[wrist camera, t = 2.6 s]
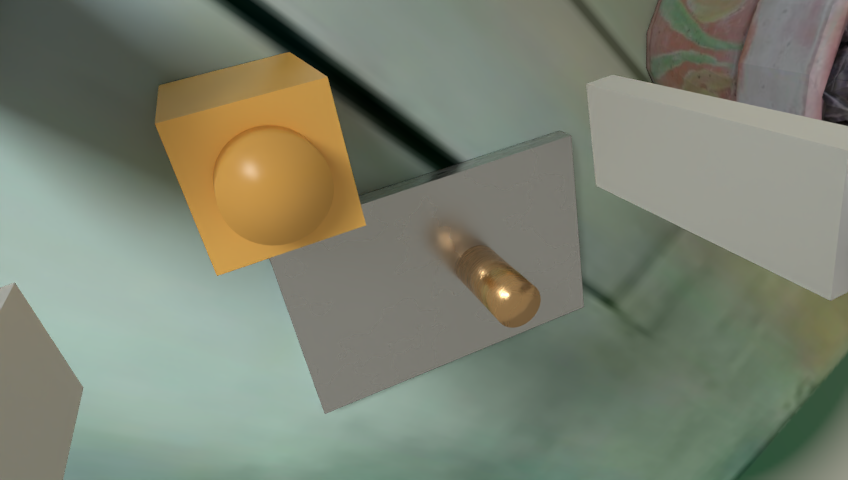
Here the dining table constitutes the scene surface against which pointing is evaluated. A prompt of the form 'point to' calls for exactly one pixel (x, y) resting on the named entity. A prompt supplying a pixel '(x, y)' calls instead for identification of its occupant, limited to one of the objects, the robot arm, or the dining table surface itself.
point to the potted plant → (755, 53)
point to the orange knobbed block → (259, 158)
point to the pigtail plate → (437, 270)
